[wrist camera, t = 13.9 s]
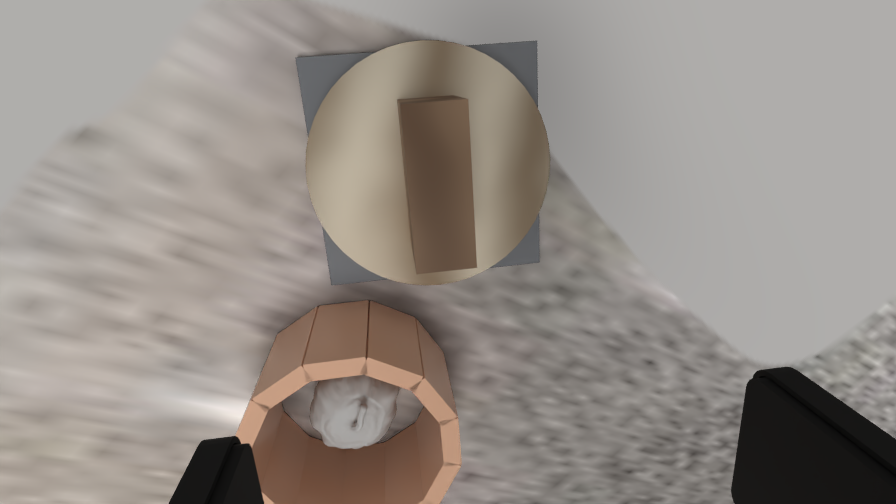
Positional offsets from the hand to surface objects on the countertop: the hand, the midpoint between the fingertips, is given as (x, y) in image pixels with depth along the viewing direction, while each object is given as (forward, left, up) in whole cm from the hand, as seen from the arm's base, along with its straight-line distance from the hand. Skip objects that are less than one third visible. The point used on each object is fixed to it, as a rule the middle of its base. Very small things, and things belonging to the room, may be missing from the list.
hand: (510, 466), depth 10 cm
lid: (-1, -2, -22) cm, 22 cm away
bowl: (+6, +12, -23) cm, 26 cm away
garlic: (+5, +12, -23) cm, 26 cm away
